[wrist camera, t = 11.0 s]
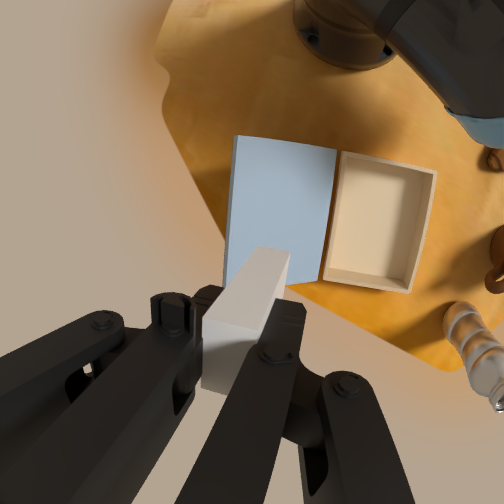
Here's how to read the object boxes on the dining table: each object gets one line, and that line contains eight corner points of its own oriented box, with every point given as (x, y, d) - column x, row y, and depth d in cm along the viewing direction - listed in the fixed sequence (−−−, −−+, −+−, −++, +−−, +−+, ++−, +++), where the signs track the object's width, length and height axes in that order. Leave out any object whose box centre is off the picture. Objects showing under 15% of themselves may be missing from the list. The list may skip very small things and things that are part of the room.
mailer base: (341, 151, 36) (342, 150, 32) (427, 169, 33) (437, 171, 30) (323, 268, 41) (322, 279, 37) (403, 282, 38) (410, 294, 35)
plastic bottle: (438, 337, 39) (477, 429, 21) (438, 301, 38) (489, 389, 19) (472, 327, 37) (521, 410, 19) (473, 291, 36) (535, 368, 17)
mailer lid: (337, 149, 31) (331, 149, 32) (238, 135, 26) (234, 135, 27) (316, 280, 37) (312, 277, 38) (225, 292, 32) (222, 288, 32)
